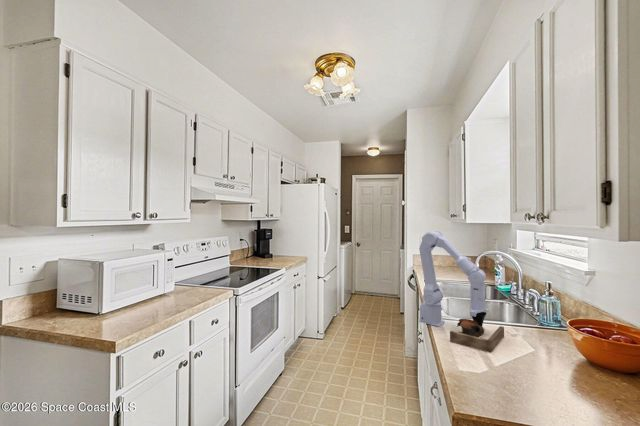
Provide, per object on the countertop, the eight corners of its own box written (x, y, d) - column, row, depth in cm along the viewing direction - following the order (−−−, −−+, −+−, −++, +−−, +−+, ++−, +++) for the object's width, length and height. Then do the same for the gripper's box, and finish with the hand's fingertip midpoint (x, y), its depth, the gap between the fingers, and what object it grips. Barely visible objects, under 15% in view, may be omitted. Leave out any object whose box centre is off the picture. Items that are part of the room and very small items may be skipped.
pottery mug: (451, 336, 127) (452, 317, 131) (465, 342, 130) (466, 323, 134) (477, 338, 117) (478, 317, 121) (492, 345, 121) (492, 324, 124)
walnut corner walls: (450, 341, 121) (449, 331, 121) (466, 327, 136) (466, 319, 136) (491, 352, 111) (490, 341, 111) (504, 336, 126) (503, 326, 126)
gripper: (483, 303, 122) (483, 336, 121) (492, 296, 132) (493, 326, 132) (464, 299, 127) (465, 331, 126) (475, 293, 137) (476, 322, 137)
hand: (478, 328), depth 129 cm, fingers closed
